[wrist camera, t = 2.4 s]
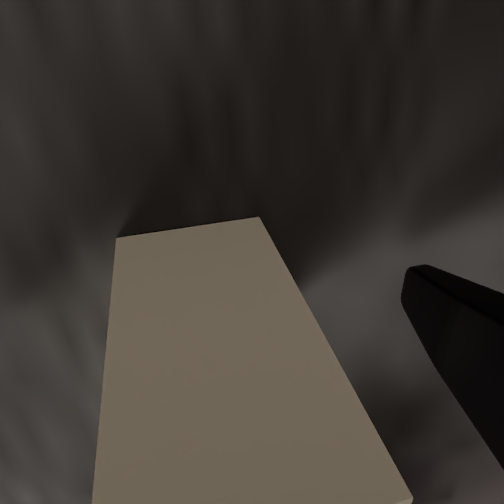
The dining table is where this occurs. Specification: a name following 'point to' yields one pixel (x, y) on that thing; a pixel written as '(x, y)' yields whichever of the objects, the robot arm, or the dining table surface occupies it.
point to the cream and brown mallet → (227, 382)
